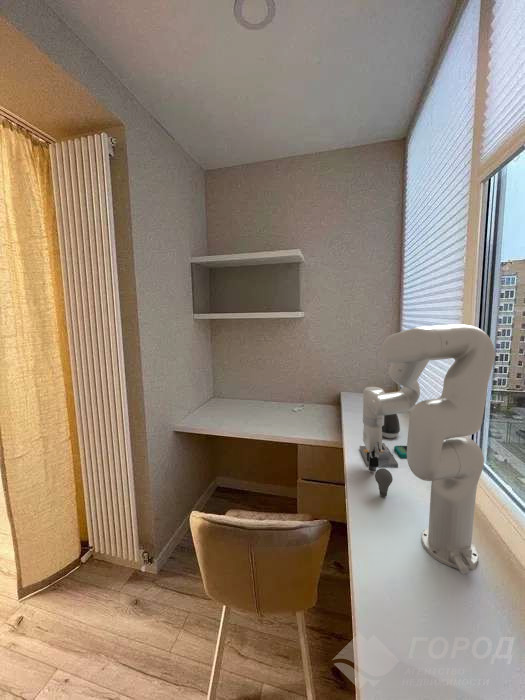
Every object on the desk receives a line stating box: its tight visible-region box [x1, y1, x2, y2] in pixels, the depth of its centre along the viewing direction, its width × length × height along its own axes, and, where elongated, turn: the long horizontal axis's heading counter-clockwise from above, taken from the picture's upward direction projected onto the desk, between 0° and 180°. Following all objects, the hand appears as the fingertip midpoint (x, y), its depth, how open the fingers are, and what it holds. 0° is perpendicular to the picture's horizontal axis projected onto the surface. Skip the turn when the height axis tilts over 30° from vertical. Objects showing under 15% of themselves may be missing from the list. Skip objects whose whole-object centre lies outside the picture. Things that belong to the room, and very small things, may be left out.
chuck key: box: [364, 449, 383, 473], centre depth 108 cm, size 7×3×9 cm, turn 83°
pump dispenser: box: [382, 414, 401, 439], centre depth 138 cm, size 10×10×15 cm
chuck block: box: [359, 442, 399, 468], centre depth 120 cm, size 16×12×5 cm
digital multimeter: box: [393, 445, 407, 459], centre depth 121 cm, size 7×15×3 cm, turn 87°
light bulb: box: [374, 467, 393, 498], centre depth 95 cm, size 6×6×10 cm
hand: (372, 463), depth 109 cm, fingers closed on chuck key, 2 cm apart
